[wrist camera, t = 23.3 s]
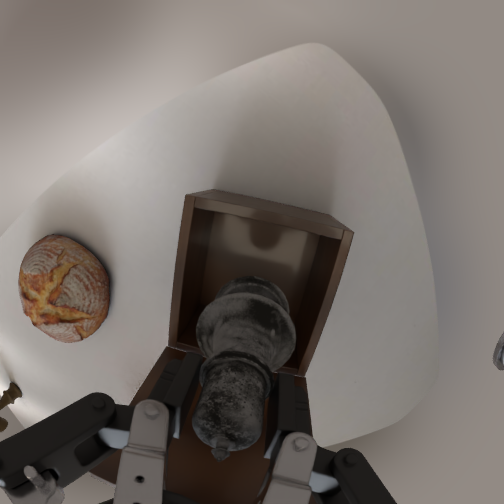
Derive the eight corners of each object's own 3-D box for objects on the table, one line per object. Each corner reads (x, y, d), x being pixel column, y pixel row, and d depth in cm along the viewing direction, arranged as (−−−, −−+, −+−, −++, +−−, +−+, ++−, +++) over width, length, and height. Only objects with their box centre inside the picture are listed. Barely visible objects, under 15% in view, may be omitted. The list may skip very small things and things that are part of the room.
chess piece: (214, 345, 20) (163, 481, 9) (204, 272, 19) (115, 395, 7) (293, 345, 19) (299, 493, 8) (293, 270, 18) (312, 411, 6)
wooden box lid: (88, 471, 10) (104, 499, 11) (320, 523, 9) (292, 542, 11) (166, 345, 25) (164, 383, 26) (306, 377, 25) (290, 412, 26)
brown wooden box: (212, 188, 31) (185, 194, 22) (331, 215, 31) (354, 232, 21) (193, 304, 35) (167, 346, 26) (298, 328, 35) (304, 377, 25)
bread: (137, 311, 37) (106, 352, 28) (63, 336, 41) (34, 366, 31) (85, 209, 33) (37, 227, 23) (21, 257, 36) (-17, 278, 27)
